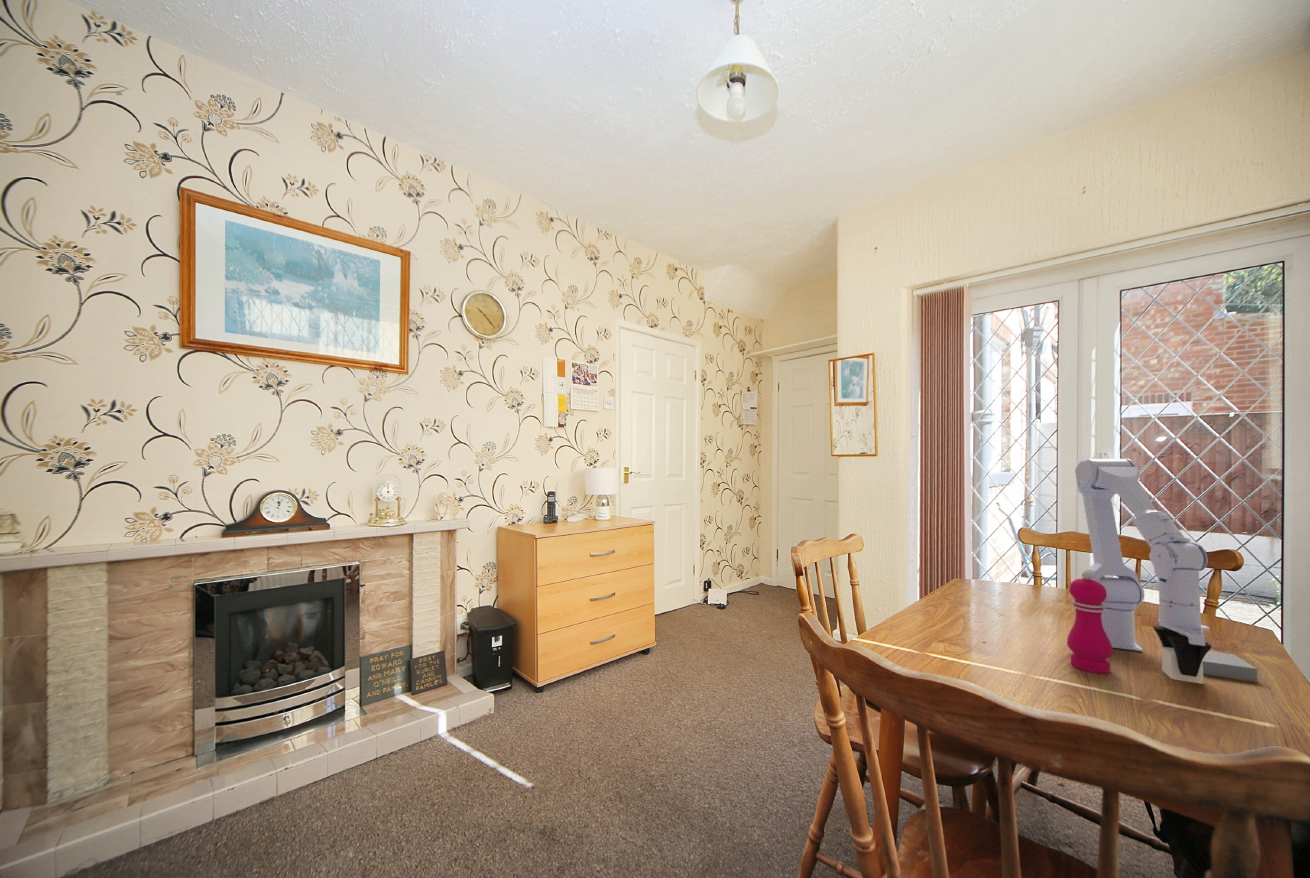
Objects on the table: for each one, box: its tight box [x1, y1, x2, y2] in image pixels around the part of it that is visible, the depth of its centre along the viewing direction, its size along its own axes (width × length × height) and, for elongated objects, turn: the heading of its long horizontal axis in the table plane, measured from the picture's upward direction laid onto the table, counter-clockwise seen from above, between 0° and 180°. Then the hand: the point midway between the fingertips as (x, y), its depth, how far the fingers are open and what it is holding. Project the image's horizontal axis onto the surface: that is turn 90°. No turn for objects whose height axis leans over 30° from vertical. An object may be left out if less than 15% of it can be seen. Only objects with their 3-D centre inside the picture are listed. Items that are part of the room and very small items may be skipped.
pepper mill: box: [1066, 571, 1114, 674], centre depth 104 cm, size 7×7×20 cm
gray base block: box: [1203, 650, 1258, 683], centre depth 103 cm, size 8×8×3 cm
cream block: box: [1160, 646, 1204, 685], centre depth 99 cm, size 4×4×5 cm
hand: (1181, 669), depth 99 cm, fingers open, 5 cm apart
